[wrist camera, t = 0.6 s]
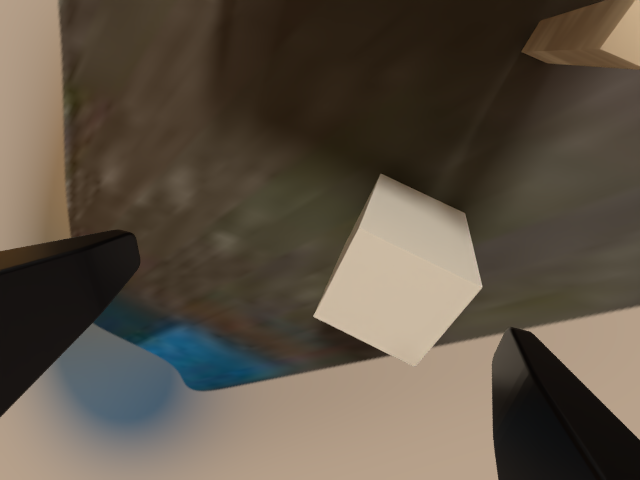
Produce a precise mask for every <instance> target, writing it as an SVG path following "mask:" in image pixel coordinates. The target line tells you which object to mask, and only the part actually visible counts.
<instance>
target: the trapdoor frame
mask: <svg viewBox="0 0 640 480" xmlns="http://www.w3.org/2000/svg"><path fill="white" fill-rule="evenodd" d="M521 52H523V53H525V54H527V55H529V56H532V57H534V58H536V59H538V60H541V61H543V62H545V63H549V64H564V65H578V66H593V67H608V68H623V69H637V70H640V0H605V1H602V2H599V3H595V4H592V5H589V6H586V7H583V8H579V9H576V10H573V11H570V12H566V13H563V14H560V15H557V16H554V17H550V18H547V19H544V20H541V21H540V22H539V23H538V25H537V27H536V28H535V30H534V32H533V33H532V35H531V36H530V38H529V40H528V41H527V43H526V44H525V46H524V48H523V49H522V51H521Z"/></svg>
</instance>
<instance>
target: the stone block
mask: <svg viewBox="0 0 640 480" xmlns="http://www.w3.org/2000/svg"><path fill="white" fill-rule="evenodd" d="M481 288H482V283H481V279H480V275H479V270H478V266H477V262H476V258H475V253H474V249H473V245H472V240H471V236H470V232H469V228H468V223H467V219H466V215H465V213H463V212H461V211H459V210H457V209H455V208H453V207H451V206H449V205H446V204H444V203H442V202H440V201H438V200H436V199H434V198H432V197H430V196H427V195H425V194H423V193H421V192H419V191H417V190H415V189H413V188H411V187H408V186H406V185H404V184H402V183H400V182H398V181H396V180H394V179H391V178H389V177H387V176H385V175H383V174H380V176H379V178H378V180H377V182H376V184H375V186H374V188H373V190H372V192H371V194H370V196H369V198H368V200H367V202H366V204H365V206H364V208H363V210H362V212H361V214H360V216H359V217H358V219H357V221H356V223H355V225H354V227H353V229H352V231H351V233H350V235H349V237H348V239H347V241H346V243H345V245H344V248H343V250H342V252H341V254H340V257H339V259H338V261H337V264H336V266H335V268H334V270H333V273H332V275H331V277H330V279H329V282H328V284H327V286H326V289H325V291H324V293H323V295H322V298H321V300H320V302H319V304H318V307H317V309H316V311H315V314H314V316H313V317H315V318H317V319H319V320H321V321H323V322H325V323H327V324H329V325H331V326H333V327H335V328H337V329H339V330H341V331H343V332H345V333H347V334H349V335H351V336H353V337H355V338H357V339H359V340H361V341H363V342H365V343H367V344H369V345H371V346H373V347H375V348H377V349H379V350H381V351H383V352H385V353H387V354H389V355H391V356H393V357H395V358H398V359H399V360H401V361H404V362H405V363H407V364H409V365H411V366H414V367H415V366H416V365H417V364H418V363H419V362H420V361H421V359H422V358H423V357H424V356H425V355H426V354H427V352H428V351H429V350H430V349H431V348H432V346H433V345H434V344H435V343H436V342H437V341H438V339H439V338H440V337H441V336H442V335H443V333H444V332H445V331H446V330H447V329H448V327H449V326H450V325H451V324H452V323H453V322H454V320H455V319H456V318H457V317H458V316H459V314H460V313H461V312H462V311H463V310H464V309H465V307H466V306H467V305H468V304H469V303H470V301H471V300H472V299H473V298H474V297H475V296H476V294H477V293H478V292H479V291H480V290H481Z"/></svg>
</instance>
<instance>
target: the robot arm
mask: <svg viewBox="0 0 640 480" xmlns="http://www.w3.org/2000/svg"><path fill="white" fill-rule="evenodd" d="M139 266H140V255H139V250H138V245H137V240H136V237H135V235H134V234H133V233H131V232H127V231H123V230H111V231H106V232H101V233H95V234H90V235H85V236H79V237H74V238H69V239H63V240H58V241H53V242H47V243H42V244H37V245H31V246H26V247H21V248H15V249H10V250H5V251H0V417H1V416H2V415H3V414H4V413H5V412H6V411H7V410H8V409H9V408H10V407H11V406H12V405H13V404H14V403H15V402H16V401H17V400H18V399H19V398H20V396H22V395H23V394H24V393H25V391H26V390H27V389H28V388H29V387H30V386H31V385H32V384H33V383H34V382H35V381H36V380H37V379H38V378H39V377H40V376H41V375H42V374H43V373H44V372H45V371H46V370H47V369H48V368H49V367H50V366H51V365H52V364H53V363H54V362H55V361H56V360H57V359H58V358H59V357H60V356H61V355H62V353H64V352H65V351H66V350H67V348H69V347H70V346H71V344H72V343H73V342H74V341H75V340H76V339H77V338H78V337H79V336H80V335H81V334H82V333H83V332H84V331H85V330H86V329H87V328H88V327H89V326H90V325H91V324H92V323H93V322H94V321H95V320H96V319H97V318H98V317H99V316H100V315H101V313H102V312H103V311H104V310H105V309H106V308H107V306H108V305H109V304H110V303H111V301H112V300H113V299H114V298H115V297H116V295H117V294H118V293H119V292H120V290H121V289H122V288H123V287H124V285H125V284H126V283H127V282H128V281H129V279H130V278H131V277H132V276H133V274H134V273H135V272H136V271H137V269H138V268H139ZM492 401H493V402H492V405H493V408H492V409H493V440H494V448H495V457H496V465H497V472H498V479H499V480H640V440H639V439H638V438H637V437H636V436H635V435H634V434H633V433H632V432H631V431H630V430H629V429H628V428H627V427H626V426H625V425H624V424H623V423H622V422H621V421H620V420H619V419H618V418H617V417H616V416H615V415H614V414H613V413H612V412H611V411H610V410H609V409H608V408H607V407H606V406H605V405H604V404H603V403H602V402H601V401H600V400H599V399H598V398H597V397H596V396H595V395H594V394H593V393H592V392H591V391H590V390H589V389H588V388H587V387H586V386H585V385H584V384H583V383H582V382H581V381H580V380H579V379H578V378H577V377H576V376H575V375H574V374H573V373H572V372H571V371H570V370H569V369H568V368H567V367H566V366H565V365H564V364H563V363H562V362H561V361H560V360H559V359H558V358H557V357H556V356H555V355H554V354H553V353H552V352H551V351H550V350H549V349H548V348H547V347H545V345H544V344H543V343H542V342H541V341H540V340H539V339H538V338H537V337H536V336H535V335H534V334H532V333H531V332H529V331H526V330H521V329H517V328H513V327H510V328H508V329H507V330H506V331H505V333H504V335H503V337H502V339H501V341H500V343H499V345H498V347H497V350H496V352H495V354H494V357H493V361H492Z"/></svg>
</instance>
